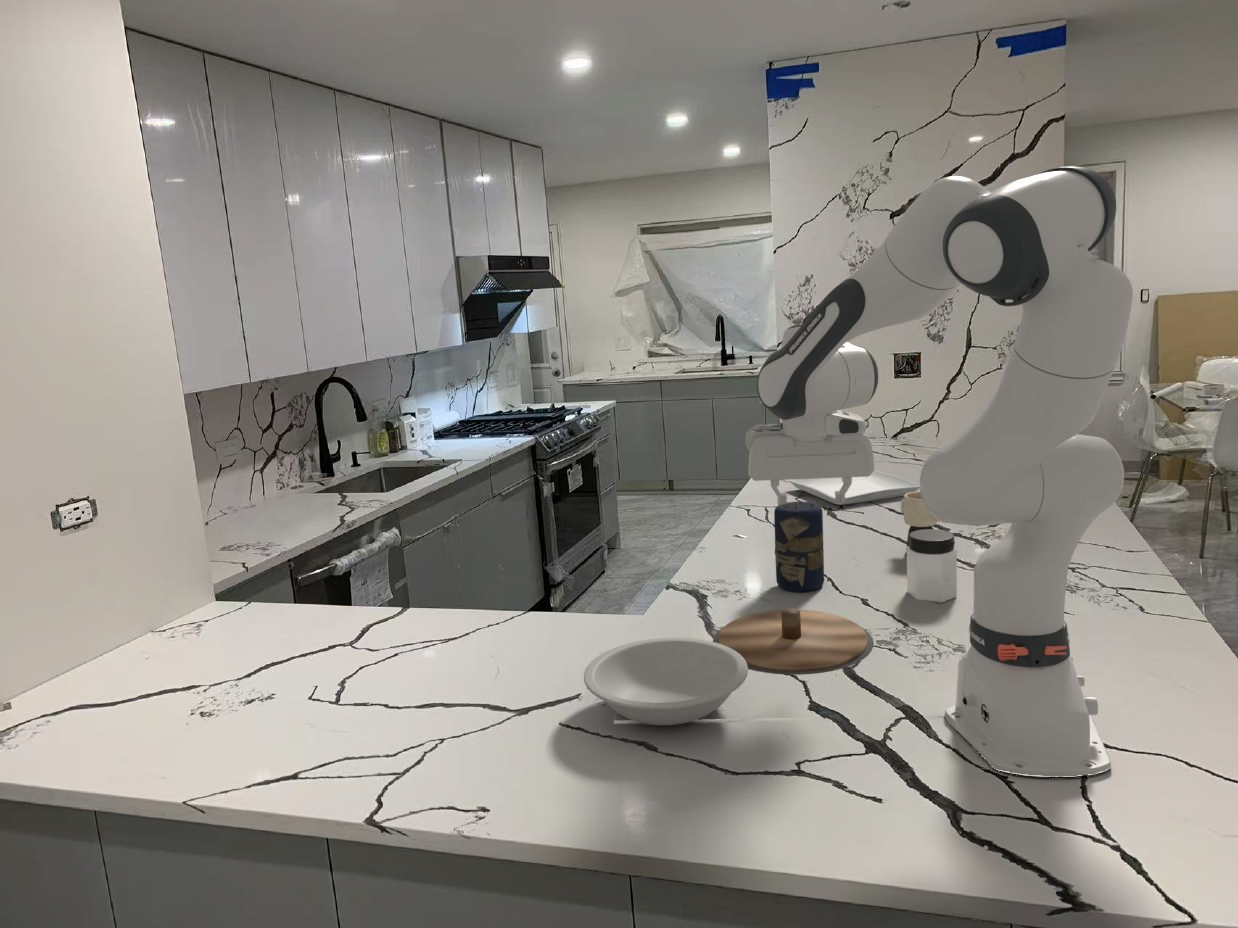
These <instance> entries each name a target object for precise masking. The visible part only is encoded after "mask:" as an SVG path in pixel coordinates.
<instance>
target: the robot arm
mask: <svg viewBox="0 0 1238 928" xmlns="http://www.w3.org/2000/svg"><path fill="white" fill-rule="evenodd" d="M1116 199H1117V198H1116V195H1115V192H1114V189H1113V188H1112V186H1111V184H1110V183H1109V181H1108V180H1107V179H1106V178H1105V177H1104V176H1103V175H1102V174H1101V173H1099V172H1098V171H1095V170H1093V169H1091V168H1088V167H1083V166H1072V165H1071V166H1060V167H1054V168H1050V169H1047V170H1044V171H1042V172H1040V173H1037V174H1035V175H1032V176H1028V177H1024V178H1020V179H1019V178H1018V179H1016V180H1013V181H1011V182H1009V183H1006V184H1004V185H1002V186H1000V187H999V188H997V189H995V190H992V191H990V190H989V189H987V188H986V187H984V185H982V184H981V183H980V182H978V181H976V180H974V179H971V178H968V177H965V176H958V175H951V176H946V177H941V178H939V179H937V180H936V181H934V182H932V183H931V184H930V185H929V186H928V187H926V188H925V190H923V191H922V192H921V193H920V195H918V197H917V198H916V199H915V200H914V201H913V202H912V203H911V204H910V206H908V208H906V210H905V212H903V213H902V215H901V217H900V218H899V219H898V220H897V222H896V223H895V224H894V226H893V227H892V229H890V232H889V233H888V235H887V237H885V239H884V240H883V242H882V244H881V245H880V246H879V247H878V248H877V249H876V251H874V252H873V254H871V256H870V257H869V258H868V259H867V260H866V261H865V262H864V263H863V264H862V265H861V266H860V267H859V268H858V269H856V270H855V271H854V272H853V273H852V274H850V276H847V278H846V279H844V280H842V281H841V282H840V283H839V284H838V285H836V286H835V287H834V288H832V290H831V291H829V293H828V294H827V295H826V296H825V297H824V298H823V299H822V301H821V302H819V304H818V305H817V306H816V307H815V308H814V310H813V311H812V312H811V314H810V315H809V316H808V317H807V318H806V319H805V321H803V323H799V324H798V323H797V324H795V325H791V326H789V327H787V329H785V330H784V333H783V335H782V340H781V348H780V349H778V350H776V351H774V352H773V353H771V354H770V355H769V356H768V358H766V359H765V361H764V363H763V364H762V366H761V368H760V371H759V373H758V376H757V382H756V383H757V384H756V387H757V394H758V397H759V400H760V402H761V403H762V405H763V406H764V407H765V408H766V409H767V410H768V411H769V412H770V413H772V414H773V415H775V416H776V417H777V418H779V419H780V420H781V422H780V423H779V422H778V423H769V424H762V423H761V424H755V425H753V426H752V427H750V428H749V429H748V430H747V431H746V432H745V437H744V438H745V446H746V447H745V448H747V450H748V451H749V458H748V476H749V477H750V478H751V479H752V481H756V482H758V481H769V482H770V487H771V488H772V490H773V491H774V493H775V495H776V496H777V506H781V505H787V503H788V499H787V498H788V496H787V493H786V492H782V491H781V490H780V489H779V487H780V481H782V480H783V481H785V480H786V481H787V480H793V479H815V478H841V477H842V482H843V483H844V484H843V485H842V487H841V489H840V491H835V496H836V497H835V502H836V504H835V505H837V503H845V493H846V492H847V490H848V489H849V487H850V486H851V484H852V477H867V476H870V475H871V474H872V473H873V471H874V470H875V460H874V458H875V457H874V452H873V447H872V443H871V440H870V438H869V436H868V435H867V434H866V429H867V424H866V420H865V419H864V418H863V417H862V416H861V415H859V414H855V413H853V412H849V411H844V410H845V409H853V408H857V407H861V406H864V405H866V404H868V403H869V402H870V401H871V400H872V399H873V397H874V395H875V393H876V391H877V389H878V384H879V369H878V365H877V361H876V360H875V358H874V356H873V355H872V354H871V353H870V352H869V351H868V350H867V349H866V348H865V347H863V346H859V345H854V344H852V343H850V342H849V341H852V340H853V339H855V338H857V337H860V336H862V335H865V334H867V333H870V332H874V331H877V330H879V329H884V328H887V327H888V328H889V327H893V326H897V325H902V324H905V323H909V322H912V321H917V320H920V319H923V318H924V317H926V316H928V315H929V314H930V315H931V313H932V312H934V311H936V309H938V308H939V307H940V306H941V305H943V304H944V303H945V302H946V301H947V300H948V299H950V297H951V296H953V294H954V292H955V291H956V290H957V289H958V288H959V286H960V285H961V284H962V285H963V286H964V287H966V288H967V289H969V290H970V291H973V292H974V293H976V294H979V295H982V296H986V297H989V298H990V299H991V300H992V301H994V302H995V303H997V305H999V306H1003V307H1016V306H1020V305H1021V308H1022V315H1021V318H1020V324H1019V325H1018V329H1017V332H1016V336H1015V339H1014V341H1013V344H1012V349H1011V351H1010V354H1009V356H1008V357H1009V358H1008V361H1007V364H1006V367H1005V369H1004V373H1003V374H1002V377H1001V381H1000V383H999V385H998V388H997V391H996V392H995V394H994V396H993V398H992V399H991V401H990V402H989V404H988V405H987V406H986V408H985V409H984V410H983V411H982V412H981V414H980V415H979V416H978V417H977V418H976V419H975V420H974V421H973V423H971V424H970V425H969V427H967V428H966V429H965V430H964V431H963V432H962V433H961V434H960V435H958V436H957V437H955V438H954V439H953V440H952V441H950V442H949V443H947V444H945V445H944V446H941V447H940V448H938V449H936V450H934V451H933V452H931V453H930V454H929V456H928V457H927V458H926V460H925V462H924V463H923V465H922V468H921V471H920V475H919V484H920V488H919V492H920V493H921V497H922V499H923V502H924V504H925V506H926V507H927V509H928V510H929V512H930V513H931V514H932V515H933V516H934V517H935V518H936V519H938V520H939V521H941V522H942V523H945V524H955V525H959V526H960V525H961V526H973V527H980V526H981V527H982V526H990V525H991V526H992V525H1004V524H1010V526H1009V528H1008V530H1007V531H1006V533H1005V534H1004V536H1002V538H1001V539H999V541H997V542H996V543H995V544H993V545H992V546H990V547H988V548H987V549H986V550H985V551H983V552H982V554H980V555H979V557H978V559H977V561H976V562H975V565H974V568H973V613H972V614H971V615H970V619H969V621H970V622H969V625H968V633H969V643H970V647H969V649H968V651H967V652H966V653H965V654H964V655H963V656H962V657H961V659H959V661H958V665H957V666H958V669H957V681H956V695H955V696H956V699H955V704H954V705H951V706H949V707H947V708H946V709H945V711H944V719H945V720H946V722H948V723H949V725H951V726H952V727H953V728H954V730H955V731H956V732H957V731H958V732H959V733H960V734H961V735H962V736H963V737H964V738H965V739H966V740H967V741H968V742H969V743H970V744H971V745H972V746H973V747H974V748H975V749H976V750H977V751H978V752H977V751H976V750H975V749H974V748H973V747H972V746H971V745H970V744H969V743H968V742H967V741H966V740H965V739H964V738H963V737H962V736H961V735H960V734H959V733H958V732H957V733H958V734H959V735H960V736H961V737H962V738H963V739H964V740H965V741H966V742H967V743H968V744H969V745H970V746H971V747H972V748H973V749H974V750H975V751H976V752H977V754H978V753H980V754H981V755H982V756H983V758H985V760H986V761H987V762H988V763H990V765H991V766H993V767H994V768H995V769H998V770H1003V771H1009V772H1011V773H1013V772H1014V773H1018V774H1019V773H1020V774H1028V775H1041V776H1042V775H1043V776H1051V777H1052V776H1054V777H1055V776H1059V777H1061V776H1062V777H1063V776H1077V775H1082V774H1083V775H1085V774H1086V775H1087V774H1095V773H1097V772H1100V771H1105V770H1106V769H1109V768H1110V767H1111V768H1112V763H1111V759H1110V757H1109V754H1108V751H1107V749H1106V747H1105V745H1104V743H1103V740H1102V738H1101V735H1100V733H1099V731H1098V728H1097V726H1096V723H1095V720H1094V719H1093V717H1092V716H1097V715H1098V714H1099V705H1098V703H1099V702H1098V700H1097V697H1095V696H1085V695H1084V694H1083V690H1082V687H1084V686H1085V677H1084V675H1079V674H1077V672H1076V669H1075V666H1074V661H1073V660H1074V658H1073V657H1072V656H1071V649H1070V643H1071V642H1070V634H1069V631H1068V625H1067V622H1066V621H1065V602H1066V588H1067V579H1068V578H1067V577H1068V571H1069V567H1070V564H1071V560H1072V558H1073V554H1074V553H1075V550H1076V548H1077V546H1078V544H1079V542H1080V541H1081V539H1082V537H1083V535H1084V534H1085V532H1087V529H1088V528H1089V527H1090V526H1091V524H1092V523H1093V522H1094V521H1095V519H1097V517H1099V516H1100V515H1101V514H1102V513H1103V512H1104V511H1105V510H1107V509H1108V508H1109V507H1111V506H1112V505H1114V503H1115V502H1116V501H1117V500H1118V498H1119V496H1120V494H1121V492H1122V489H1123V486H1124V483H1125V469H1124V465H1123V462H1122V458H1121V456H1120V454H1119V453H1118V451H1117V450H1116V448H1115V447H1114V446H1113V445H1112V443H1110V442H1109V441H1108V440H1107V439H1104V438H1103V437H1099V436H1093V435H1086V434H1080V433H1081V432H1082V431H1084V430H1085V429H1086V428H1088V426H1090V424H1091V423H1092V422H1093V420H1094V419H1095V418H1096V416H1097V415H1098V414H1097V413H1098V411H1099V409H1100V406H1101V403H1102V401H1103V398H1104V396H1105V393H1106V391H1107V389H1108V386H1109V384H1110V381H1111V378H1112V376H1113V373H1114V371H1115V369H1116V366H1117V363H1118V361H1119V358H1120V355H1121V353H1122V352H1121V351H1122V349H1123V346H1124V342H1125V339H1126V334H1127V331H1128V327H1129V321H1130V316H1131V311H1132V306H1133V305H1132V303H1133V297H1134V294H1133V292H1134V291H1133V285H1132V283H1131V280H1130V279H1129V278H1128V276H1127V274H1126V273H1125V272H1123V270H1121V269H1120V268H1119V267H1118V266H1115V265H1114V264H1112V263H1110V262H1107V261H1104V260H1101V259H1097V258H1096V257H1095V256H1094V255H1093V254H1092V253H1091V252H1090V251H1092V250H1093V249H1094V248H1095V247H1096V246H1098V244H1100V243H1101V241H1103V239H1105V237H1106V236H1107V234H1108V233H1109V232H1110V230H1111V228H1112V226H1113V224H1114V221H1115V217H1116V213H1117V200H1116ZM1007 300H1009V301H1010V300H1011V301H1010V302H1006V301H1007ZM983 758H982V759H983ZM985 760H984V761H985ZM986 761H985V762H986ZM987 762H986V763H987ZM988 763H987V764H988ZM990 765H989V766H990ZM991 766H990V767H991ZM995 769H994V770H995Z"/></svg>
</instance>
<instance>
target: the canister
mask: <svg viewBox="0 0 1238 928" xmlns="http://www.w3.org/2000/svg"><path fill="white" fill-rule="evenodd" d="M773 513H774V514H773V516H774V520H773V521H774V545H775V546H774V556H775V576H776V577H775V579H776V583H777V586H778V587H780V588H781V589H783V590H785V591H790V592H796V593H797V592H798V593H802V592H804V593H808V592H811V591H816V590H818V589H820V588H822V587H823V585H824V584H825V583H824V582H825V555H824V554H825V553H824V551H825V550H824V520H823V518H824V517H823V516H824V515H823V513H824V512H823V508H822V506H821V505H819V504H817V503H814V502H810V501H800V500H797V501H790V502H788V501H787V505H781V506H778V505H776V507H775V508H774V512H773Z"/></svg>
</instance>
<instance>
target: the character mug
mask: <svg viewBox="0 0 1238 928" xmlns="http://www.w3.org/2000/svg"><path fill="white" fill-rule="evenodd" d="M900 511H901V514H903V521H904V524H906V525H908V526H909V528H908V534H907V541H906V551H907V547H908V546H909V534H910V533H911V532H913V531H917V530H923V529H934V527H933V526H935V525H937V523H940V522H941V521H939V520H938V519H936V518H935V517H934V516H933V515H932V514H931V513H930V512H929V510H928V509H927V507H926V506H925V504H924V502H923V499H922V497H921V493H920V491H915V492H911V493H907V494H905V495H903V499H901V501H900Z"/></svg>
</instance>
